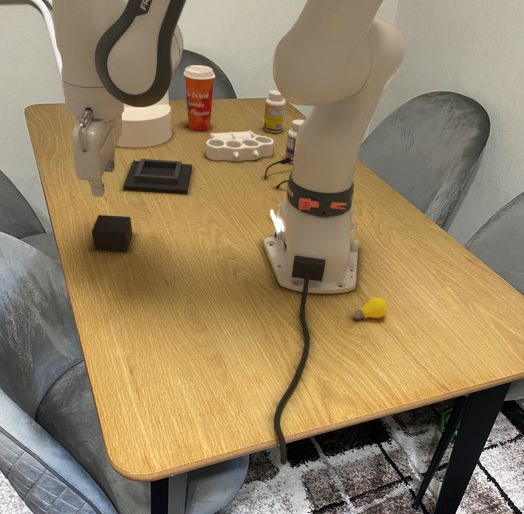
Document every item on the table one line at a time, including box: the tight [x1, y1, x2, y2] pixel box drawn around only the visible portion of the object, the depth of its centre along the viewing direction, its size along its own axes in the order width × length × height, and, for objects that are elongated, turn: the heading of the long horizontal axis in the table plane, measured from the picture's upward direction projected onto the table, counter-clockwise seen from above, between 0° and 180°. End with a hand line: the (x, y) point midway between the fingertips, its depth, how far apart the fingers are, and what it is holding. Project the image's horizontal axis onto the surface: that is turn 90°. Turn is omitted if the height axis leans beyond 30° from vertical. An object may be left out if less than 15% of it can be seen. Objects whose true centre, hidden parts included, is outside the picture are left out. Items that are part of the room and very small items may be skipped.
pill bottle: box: [284, 119, 306, 165], centre depth 132 cm, size 5×5×10 cm
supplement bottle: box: [263, 89, 287, 134], centre depth 146 cm, size 6×6×10 cm
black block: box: [91, 214, 133, 253], centre depth 97 cm, size 6×6×4 cm
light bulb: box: [353, 296, 388, 320], centre depth 87 cm, size 3×6×4 cm, turn 110°
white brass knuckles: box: [205, 130, 275, 163], centre depth 135 cm, size 3×18×15 cm
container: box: [116, 90, 173, 149], centre depth 135 cm, size 20×20×13 cm
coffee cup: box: [183, 64, 216, 132], centre depth 142 cm, size 8×8×15 cm
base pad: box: [122, 158, 193, 195], centre depth 120 cm, size 14×14×2 cm
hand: (104, 182), depth 91 cm, fingers open, 8 cm apart
